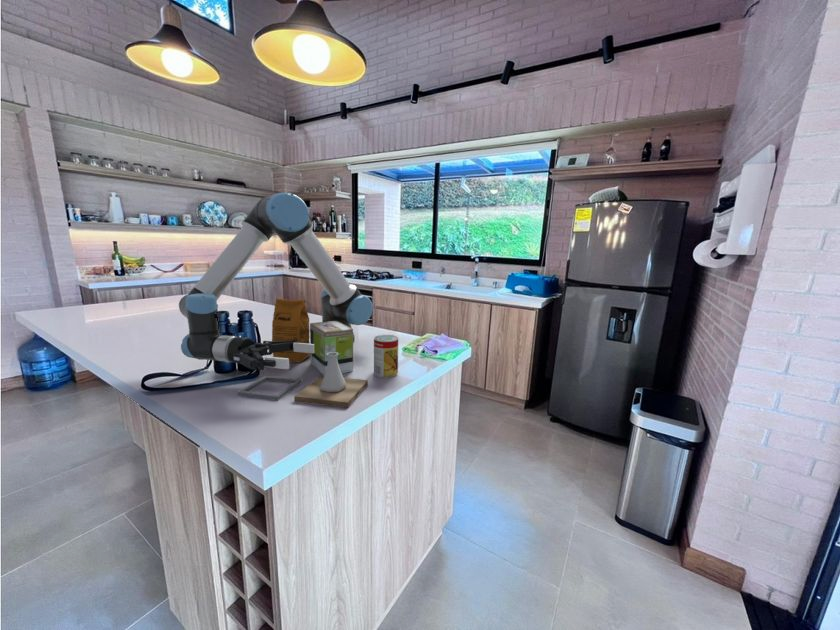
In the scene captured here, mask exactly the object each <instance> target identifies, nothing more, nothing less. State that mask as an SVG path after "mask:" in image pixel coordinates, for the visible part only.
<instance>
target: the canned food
mask: <svg viewBox="0 0 840 630" xmlns="http://www.w3.org/2000/svg"><path fill="white" fill-rule="evenodd" d="M397 373H398V374H399V337H398V336H396V335H394V334H393V335H392V334H381V335H380V334H378V335H376V336H374V337H373V375H374V376H376V377H378V378H383V377H388V378H392V377H391V376H393V377H395V375H396V374H397ZM398 374H397V375H398ZM397 375H396V376H397Z"/></svg>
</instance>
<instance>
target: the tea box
mask: <svg viewBox="0 0 840 630" xmlns="http://www.w3.org/2000/svg"><path fill="white" fill-rule="evenodd" d="M309 331H310V332H309V336H310V338H309V344H314V349H315V353H310V363H311V365H313V366H314V367H315V368H316V369H317V370H318V371H319V372H320V373H321V374H322V375H325V372H326V369H327V363H328V357H327V353H329V352H337V353H338V356H337V360H338V365H339V368H340V370H341V373H342V374H347V373H350V372H353V371H354V342H353V333H354V328H353V327H352V328H350V327H348V326H346V325H344V324H342V323H340V322H338V321H328V322H322V321H321V322H320V321H318V322H309Z"/></svg>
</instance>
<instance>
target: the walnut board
mask: <svg viewBox="0 0 840 630" xmlns="http://www.w3.org/2000/svg"><path fill="white" fill-rule="evenodd" d="M323 378H324V375H323V374H322V375H321V374H320V375H319V376H318V377H317V378H316V379H314V380H313V381H312V382H311V383H310V384H308V385H307V386H306V387H304V388H302V390H300V391H299V392H298V393H297V394H295V395H294V402H296V403H305V404H311V405H320V406H330V407H336V408H337V407H338V408H347V409H348V408H350V407H351V405H352V404H353V403H354V402H355V401H356V400H357V398H358V397H359V396H360V395H359V394H361V393H362V392H363V391H364V390H365V389H366V388H367V386H368V384H369V380H368V379H359V378H351V377H343V378H344V380H345V382H346V388H344V389H343V390H341V391H339V392H326V391H322V390H320V388H321V384H322V381H323ZM365 387H366V388H365ZM364 388H365V389H364ZM363 389H364V390H363ZM358 395H359V396H358Z"/></svg>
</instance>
